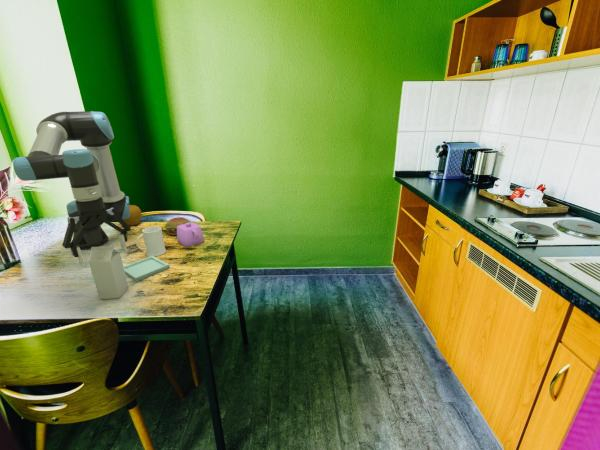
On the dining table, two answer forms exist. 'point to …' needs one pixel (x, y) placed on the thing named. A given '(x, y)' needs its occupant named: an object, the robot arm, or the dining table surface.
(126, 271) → the tray
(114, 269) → the milk carton
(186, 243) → the teapot
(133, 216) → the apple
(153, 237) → the mug
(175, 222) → the food
